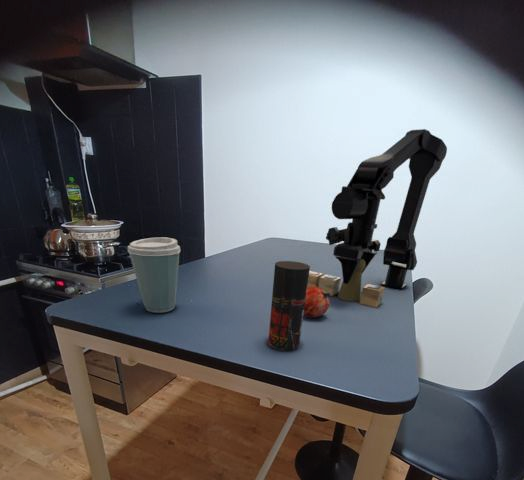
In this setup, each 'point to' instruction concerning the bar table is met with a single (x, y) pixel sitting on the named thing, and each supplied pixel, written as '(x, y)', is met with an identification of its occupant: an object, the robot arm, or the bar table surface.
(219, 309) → the bar table surface
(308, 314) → the pomegranate
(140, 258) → the disposable coffee cup
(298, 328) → the deodorant
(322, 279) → the block
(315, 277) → the block
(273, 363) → the bar table surface
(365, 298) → the block
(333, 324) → the bar table surface
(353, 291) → the olive tapered pawn
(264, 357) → the bar table surface
